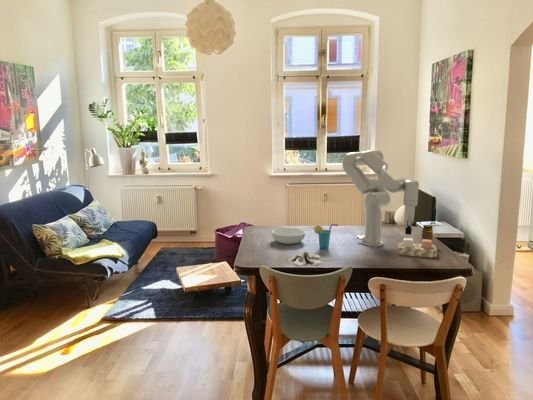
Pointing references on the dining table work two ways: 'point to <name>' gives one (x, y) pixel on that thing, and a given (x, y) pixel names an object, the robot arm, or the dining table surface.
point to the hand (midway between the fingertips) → (408, 234)
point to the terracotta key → (426, 244)
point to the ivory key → (407, 242)
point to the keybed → (417, 250)
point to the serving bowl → (288, 235)
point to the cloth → (305, 259)
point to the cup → (323, 236)
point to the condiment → (427, 232)
